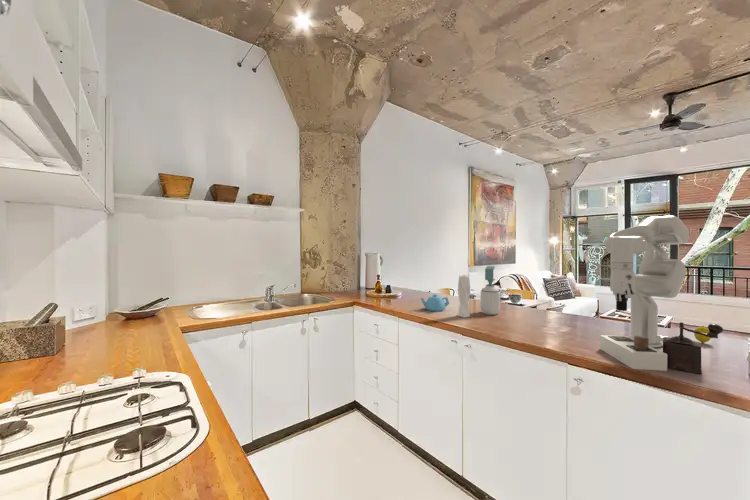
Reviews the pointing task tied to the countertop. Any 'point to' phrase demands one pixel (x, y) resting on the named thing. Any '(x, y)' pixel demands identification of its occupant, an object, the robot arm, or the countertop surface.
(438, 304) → the teapot
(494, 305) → the soap bottle
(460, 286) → the twisted white vase
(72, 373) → the countertop surface
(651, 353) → the peg block
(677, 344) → the coffee grinder
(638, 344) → the peg
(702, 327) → the lemon
